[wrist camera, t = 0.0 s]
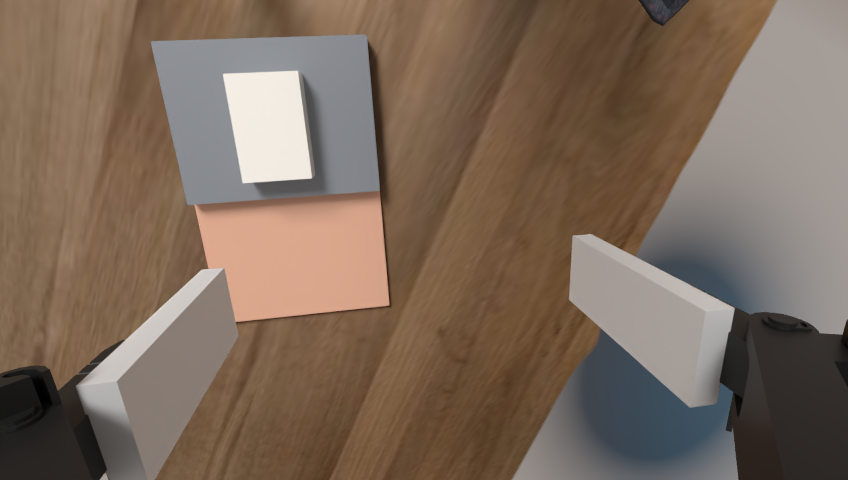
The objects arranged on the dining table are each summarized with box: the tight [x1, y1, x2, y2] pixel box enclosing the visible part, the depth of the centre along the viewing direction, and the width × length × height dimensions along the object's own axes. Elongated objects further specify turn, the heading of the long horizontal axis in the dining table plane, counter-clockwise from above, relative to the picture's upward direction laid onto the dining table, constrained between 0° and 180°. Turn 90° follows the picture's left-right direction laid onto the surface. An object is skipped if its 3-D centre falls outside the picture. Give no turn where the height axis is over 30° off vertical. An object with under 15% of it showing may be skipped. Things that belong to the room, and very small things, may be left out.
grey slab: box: [151, 35, 380, 205], centre depth 38 cm, size 14×18×2 cm
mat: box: [195, 191, 389, 322], centre depth 43 cm, size 13×18×1 cm
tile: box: [223, 71, 315, 183], centre depth 36 cm, size 9×6×2 cm, turn 3°
